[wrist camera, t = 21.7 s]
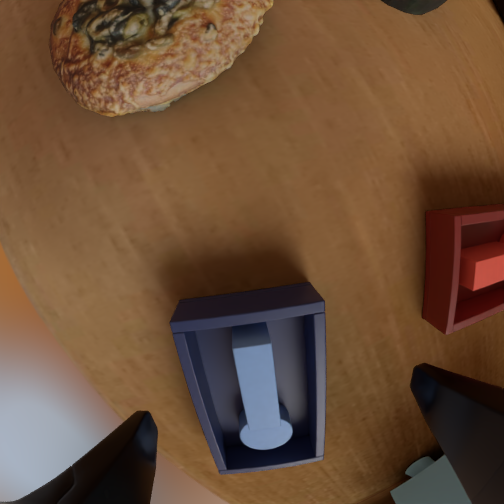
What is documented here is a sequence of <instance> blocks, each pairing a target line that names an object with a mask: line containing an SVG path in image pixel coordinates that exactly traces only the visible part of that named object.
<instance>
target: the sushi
mask: <svg viewBox="0 0 504 504" xmlns="http://www.w3.org/2000/svg"><path fill="white" fill-rule="evenodd" d="M381 1H383V2H384V3H386V4H387V5H389V6H392V7H394V8H396V9H398V10H400V11H403V12H406V13H410V14H414V15H422V14H425V13H427V12H429V11H432V10H434V9H436V8H438V7H439V6H440V5H442V4H443V3H444V2H446V1H447V0H381Z"/></svg>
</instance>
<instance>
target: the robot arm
mask: <svg viewBox="0 0 504 504" xmlns="http://www.w3.org/2000/svg"><path fill="white" fill-rule="evenodd" d="M494 2H495V4H496V6H497V8H498V10H499V12H500V14H501V16H502V18H503V20H504V0H494ZM410 388H411V391H412V393H413V395H414V397H415V399H416V402H417V404H418V406H419V408H420V410H421V413H422V415H423V417H424V419H425V421H426V423H427V425H428V426H429V428H430V430H431V431H432V433H433V435H434V436H435V438H436V440H437V441H438V443H439V445H440V447H441V448H442V450H443V452H444V454H445V455H446V457H447V459H448V461H449V462H450V464H451V466H452V468H453V470H454V471H455V473H456V475H457V477H458V479H459V481H460V482H461V484H462V486H463V488H464V490H465V492H466V494H467V496H468V498H469V500H470V501H471V504H504V388H501V387H498V386H495V385H491V384H488V383H485V382H482V381H478V380H475V379H472V378H469V377H466V376H463V375H460V374H457V373H453V372H450V371H447V370H444V369H441V368H438V367H435V366H433V365H430V364H427V363H422V364H419V365H416V366H415V367H414V368H413V373H412V378H411V383H410ZM157 439H158V430H157V426H156V424H155V422H154V420H153V418H152V416H151V414H150V412H149V411H136V412H135V413H134V414H133V415H131V416H130V417H129V418H128V419H127V420H126V421H125V422H123V423H122V424H121V425H120V426H119V427H118V428H116V429H115V430H114V431H113V432H112V433H110V434H109V435H108V436H107V437H106V438H105V439H103V440H102V441H101V442H100V443H99V444H97V445H96V446H95V447H94V448H92V449H91V450H90V451H89V452H88V453H87V454H85V455H84V456H83V457H82V458H80V459H79V460H78V461H77V462H75V463H74V464H73V465H72V466H70V467H69V468H68V469H66V470H65V471H64V472H62V473H61V474H60V475H59V476H57V477H56V478H54V479H53V480H51V481H50V482H48V483H47V484H45V485H43V486H42V487H40V488H38V489H37V490H35V491H34V492H31V493H30V494H28V495H26V496H25V497H23V498H21V499H19V500H16V501H12V502H0V504H150V500H151V494H152V487H153V481H154V477H155V470H156V454H157Z"/></svg>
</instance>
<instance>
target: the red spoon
mask: <svg viewBox="0 0 504 504" xmlns="http://www.w3.org/2000/svg"><path fill="white" fill-rule="evenodd" d="M502 280H504V233H503V234H502V236H501V238H500V241H499V242H497V241H495V242H491V243H486V244H482V245H477V246H473V247H468V248H463V249H461V256H460V272H459V284H460V285H462V286H464V287H466V288H468V289H470V290H472V291H475V290H478V289H480V288H483V287H486V286H489V285H491V284H494V283H497V282H499V281H502Z"/></svg>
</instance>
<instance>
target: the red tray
mask: <svg viewBox="0 0 504 504" xmlns="http://www.w3.org/2000/svg"><path fill="white" fill-rule="evenodd" d="M503 233H504V204H493V205H482V206H471V207H461V208H450V209H440V210H431V211H426V272H425V290H424V303H423V313H422V318H423V319H425V320H426V321H428V322H429V323H430V324H432V325H433V326H434V327H436V328H437V329H438V330H440V331H441V332H442V333H444V334H445V335H447V334H450V333H452V332H455V331H457V330H460V329H462V328H465V327H467V326H469V325H472V324H474V323H476V322H479V321H481V320H483V319H485V318H487V317H490V316H492V315H494V314H496V313H498V312H500V311H502V310H504V280H502V281H499V282H497V283H494V284H491V285H489V286H486V287H483V288H480V289H478V290H475V291H472V290H470V289H468V288H466V287H464V286H462V285H460V284H459V272H460V256H461V249H463V248H468V247H473V246H477V245H482V244H486V243H491V242H495V241H497V242H499V241H500V238H501V236H502V234H503Z"/></svg>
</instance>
